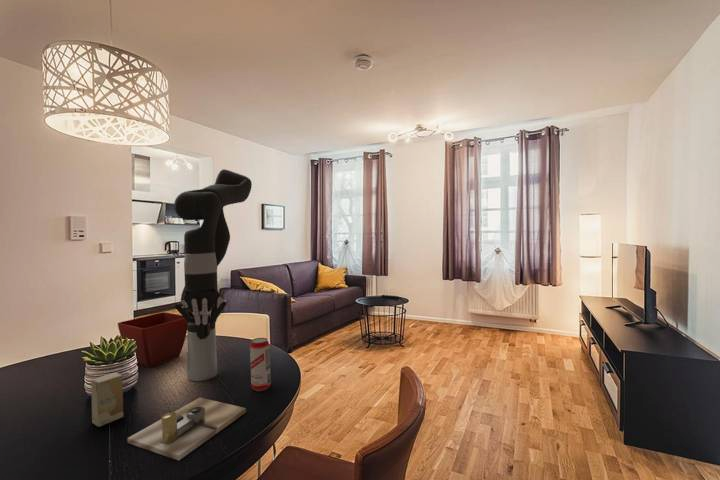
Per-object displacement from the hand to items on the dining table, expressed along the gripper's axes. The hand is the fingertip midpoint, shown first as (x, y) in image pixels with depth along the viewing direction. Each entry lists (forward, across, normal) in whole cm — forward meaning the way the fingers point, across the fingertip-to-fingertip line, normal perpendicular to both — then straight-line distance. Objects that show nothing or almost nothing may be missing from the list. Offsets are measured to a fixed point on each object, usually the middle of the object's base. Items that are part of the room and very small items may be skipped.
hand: (203, 338), depth 87 cm
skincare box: (+25, -30, +12) cm, 41 cm away
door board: (+25, -6, +4) cm, 26 cm away
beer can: (+25, +10, +24) cm, 36 cm away
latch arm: (+23, -6, 0) cm, 24 cm away
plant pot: (+25, -38, +58) cm, 74 cm away
